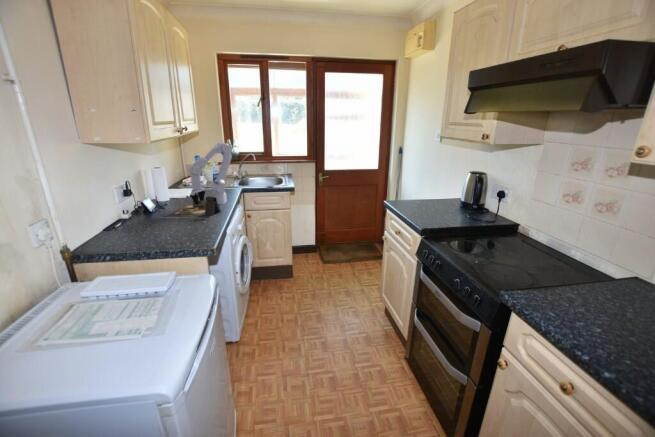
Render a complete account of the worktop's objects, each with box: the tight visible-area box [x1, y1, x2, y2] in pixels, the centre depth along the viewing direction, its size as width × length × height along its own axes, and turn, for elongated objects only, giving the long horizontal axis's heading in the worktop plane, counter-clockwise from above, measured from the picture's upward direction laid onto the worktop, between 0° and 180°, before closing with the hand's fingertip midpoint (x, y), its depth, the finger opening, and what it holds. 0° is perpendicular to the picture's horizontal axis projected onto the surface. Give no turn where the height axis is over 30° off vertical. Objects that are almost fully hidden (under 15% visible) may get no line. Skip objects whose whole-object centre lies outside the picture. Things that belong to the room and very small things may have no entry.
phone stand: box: [204, 196, 222, 217], centre depth 191 cm, size 9×6×12 cm, turn 158°
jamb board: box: [174, 205, 206, 215], centre depth 201 cm, size 18×18×2 cm
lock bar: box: [191, 198, 206, 208], centre depth 205 cm, size 8×4×5 cm, turn 86°
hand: (199, 202), depth 205 cm, fingers open, 7 cm apart
